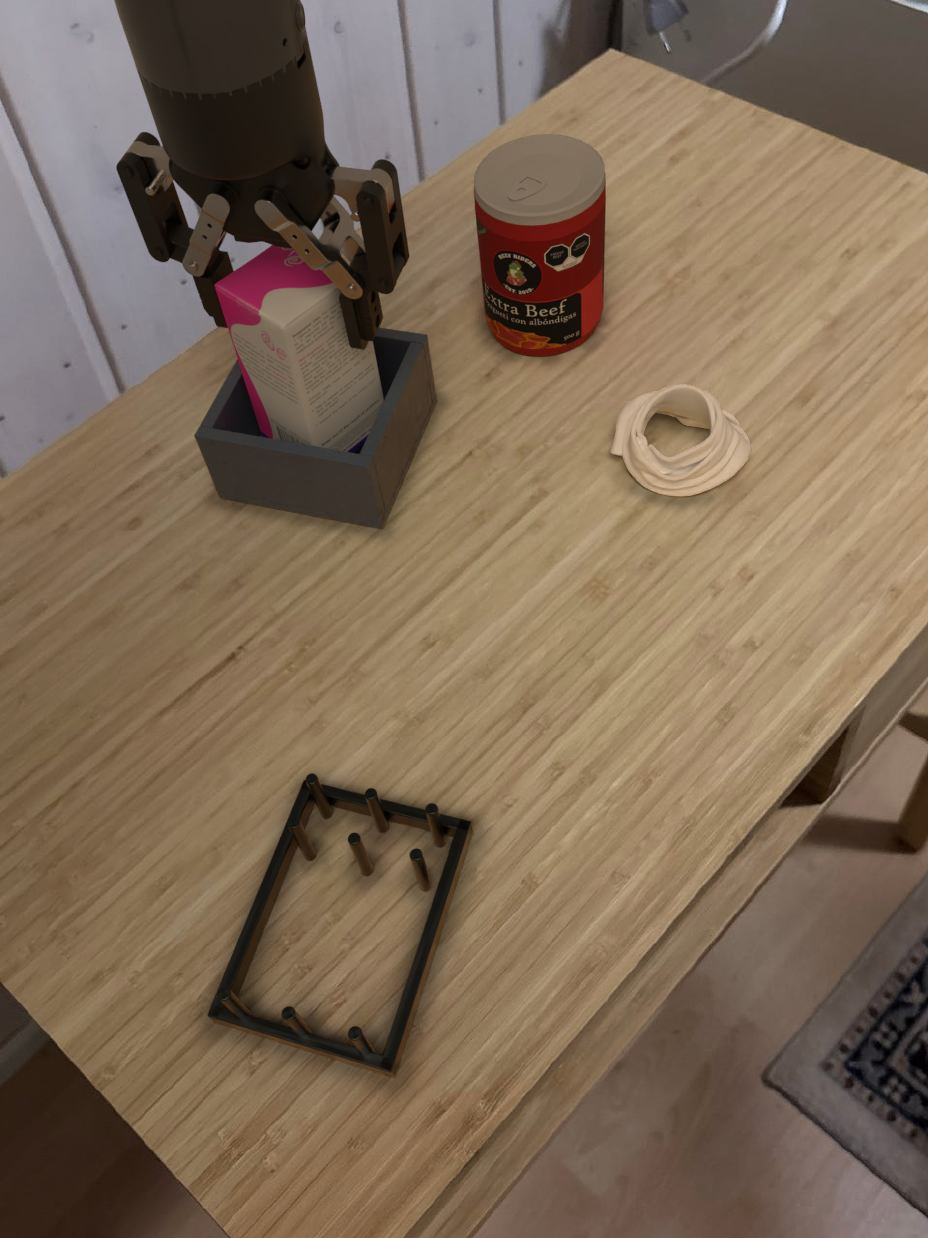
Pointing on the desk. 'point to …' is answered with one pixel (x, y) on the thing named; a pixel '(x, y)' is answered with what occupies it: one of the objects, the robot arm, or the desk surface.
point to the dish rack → (312, 791)
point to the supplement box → (299, 353)
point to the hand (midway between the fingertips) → (296, 327)
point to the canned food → (541, 242)
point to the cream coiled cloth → (694, 465)
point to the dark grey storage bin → (319, 474)
